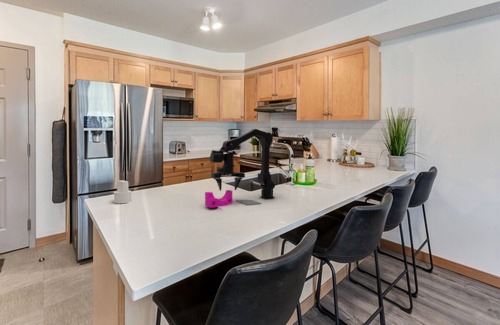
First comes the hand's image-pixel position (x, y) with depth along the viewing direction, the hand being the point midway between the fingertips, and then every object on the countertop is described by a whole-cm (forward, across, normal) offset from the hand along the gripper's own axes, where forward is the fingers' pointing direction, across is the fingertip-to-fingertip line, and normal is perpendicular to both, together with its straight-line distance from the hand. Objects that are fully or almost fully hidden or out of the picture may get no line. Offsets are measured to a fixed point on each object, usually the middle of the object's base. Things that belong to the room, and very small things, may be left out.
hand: (227, 190), depth 151 cm
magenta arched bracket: (+8, +6, +4) cm, 10 cm away
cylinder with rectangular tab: (+8, +52, -30) cm, 61 cm away
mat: (+7, -11, +2) cm, 13 cm away
